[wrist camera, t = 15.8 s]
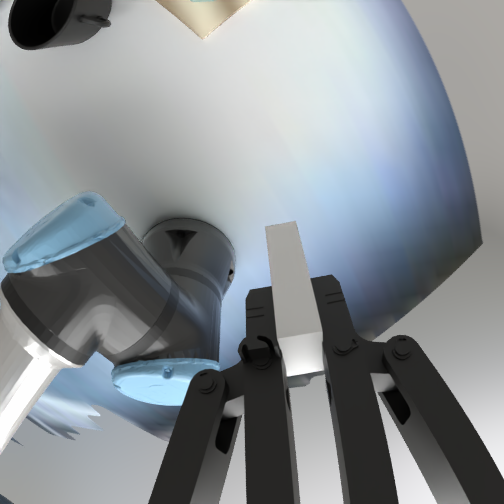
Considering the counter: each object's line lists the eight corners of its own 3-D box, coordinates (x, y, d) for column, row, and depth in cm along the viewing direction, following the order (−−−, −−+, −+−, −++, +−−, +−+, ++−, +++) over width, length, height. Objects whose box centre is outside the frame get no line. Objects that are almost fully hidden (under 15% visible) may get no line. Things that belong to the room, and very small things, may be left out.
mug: (106, 60, 28) (70, 67, 21) (40, 35, 24) (-3, 41, 17) (144, -6, 23) (115, -19, 16) (71, -27, 19) (32, -36, 12)
